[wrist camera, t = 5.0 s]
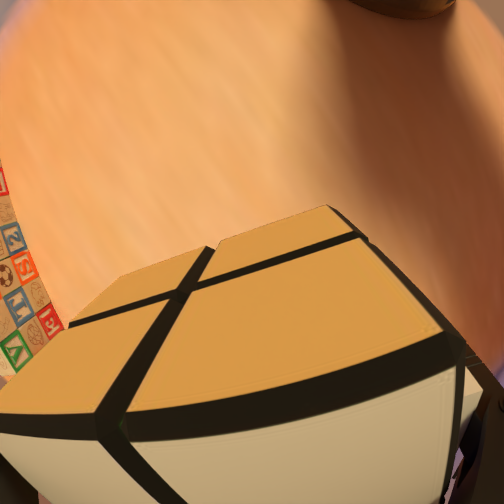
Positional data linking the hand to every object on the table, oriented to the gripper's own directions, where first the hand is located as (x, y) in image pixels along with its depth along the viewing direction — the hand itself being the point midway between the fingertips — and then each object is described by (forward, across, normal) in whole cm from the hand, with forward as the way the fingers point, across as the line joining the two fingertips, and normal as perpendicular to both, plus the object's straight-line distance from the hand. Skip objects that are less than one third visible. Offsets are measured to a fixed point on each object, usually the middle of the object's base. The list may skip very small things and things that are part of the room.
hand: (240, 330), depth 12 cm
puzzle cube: (+2, 0, -2) cm, 2 cm away
